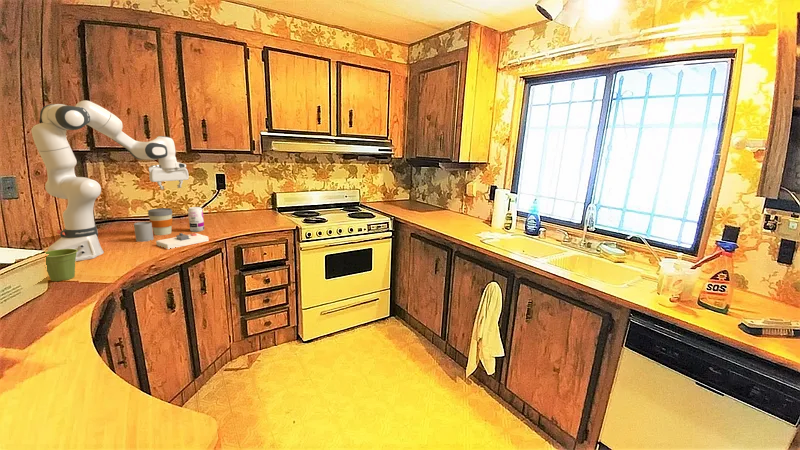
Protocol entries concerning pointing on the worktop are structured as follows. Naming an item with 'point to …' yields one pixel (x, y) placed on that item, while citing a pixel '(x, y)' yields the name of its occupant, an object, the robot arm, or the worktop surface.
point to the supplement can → (196, 219)
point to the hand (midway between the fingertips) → (171, 188)
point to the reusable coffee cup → (161, 220)
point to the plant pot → (61, 264)
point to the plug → (182, 237)
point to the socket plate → (177, 243)
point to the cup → (143, 231)
